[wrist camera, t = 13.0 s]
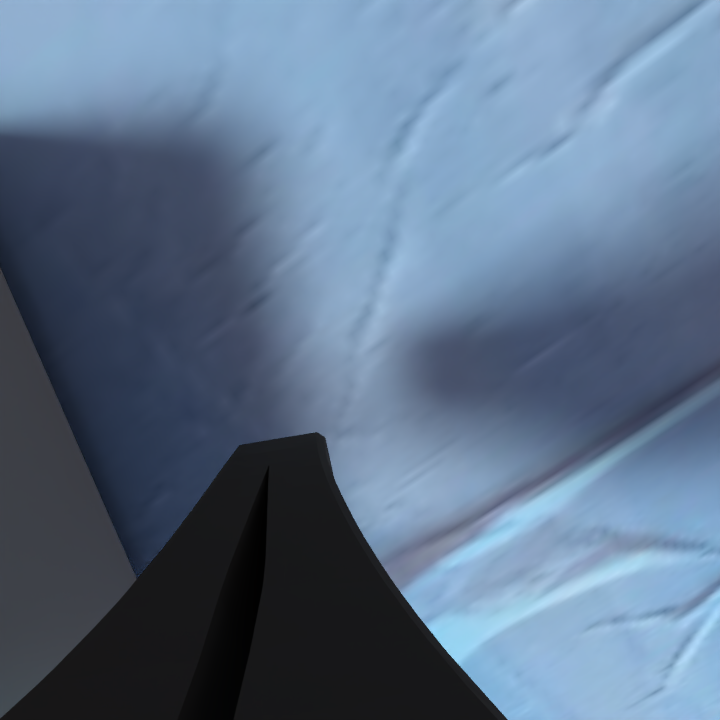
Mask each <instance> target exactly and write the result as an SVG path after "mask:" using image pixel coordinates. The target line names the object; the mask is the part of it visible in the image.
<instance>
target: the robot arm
mask: <svg viewBox="0 0 720 720" xmlns="http://www.w3.org/2000/svg"><path fill="white" fill-rule="evenodd" d="M0 720H507V719H506V717H505V716H504V715H503V714H502V713H501V712H500V711H499V710H498V708H497V707H496V706H495V705H494V704H493V703H492V702H491V701H490V700H489V698H488V697H487V696H486V695H485V694H484V693H483V692H482V691H481V689H480V688H479V687H478V686H477V685H476V684H475V683H474V682H473V681H472V679H471V678H470V677H469V676H468V675H467V674H466V673H465V672H464V670H463V669H462V668H461V667H460V666H459V665H458V664H457V663H456V662H455V660H454V659H453V658H452V657H451V656H450V655H449V654H448V653H447V651H446V650H445V649H444V648H443V647H442V645H441V644H440V643H439V642H438V640H437V639H436V638H435V637H434V635H433V634H432V633H431V632H430V630H429V629H428V628H427V627H426V625H425V624H424V623H423V622H422V620H421V619H420V618H419V617H418V615H417V614H416V613H415V611H414V610H413V609H412V607H411V606H410V604H409V603H408V602H407V600H406V599H405V598H404V596H403V595H402V594H401V592H400V591H399V590H398V588H397V587H396V585H395V584H394V583H393V581H392V580H391V578H390V577H389V575H388V574H387V572H386V571H385V569H384V568H383V566H382V565H381V563H380V562H379V560H378V559H377V557H376V555H375V554H374V552H373V551H372V549H371V547H370V546H369V544H368V543H367V541H366V539H365V538H364V536H363V534H362V533H361V531H360V529H359V527H358V526H357V524H356V522H355V520H354V518H353V516H352V514H351V512H350V510H349V508H348V507H347V505H346V503H345V501H344V499H343V497H342V495H341V493H340V490H339V488H338V486H337V484H336V481H335V479H334V476H333V472H332V467H331V462H330V458H329V453H328V448H327V443H326V439H325V437H324V436H322V435H320V434H319V433H317V432H315V433H309V434H303V435H297V436H291V437H285V438H279V439H273V440H268V441H262V442H256V443H250V444H244V445H239V447H238V448H237V449H236V451H235V452H234V453H233V455H232V456H231V457H230V458H229V460H228V461H227V462H226V464H225V465H224V467H223V468H222V469H221V471H220V472H219V474H218V475H217V476H216V478H215V479H214V481H213V482H212V483H211V485H210V486H209V488H208V489H207V490H206V492H205V493H204V494H203V496H202V497H201V499H200V500H199V501H198V503H197V504H196V505H195V507H194V508H193V509H192V511H191V512H190V513H189V515H188V516H187V517H186V519H185V520H184V521H183V523H182V524H181V525H180V527H179V528H178V529H177V530H176V532H175V533H174V534H173V536H172V537H171V538H170V540H169V541H168V542H167V544H166V545H165V546H164V547H163V549H162V550H161V551H160V552H159V553H158V555H157V556H156V557H155V558H154V559H153V561H152V562H151V563H150V564H149V565H148V567H147V568H146V569H145V570H144V571H143V573H142V574H141V575H140V576H139V577H138V579H137V580H136V581H135V582H134V583H133V585H132V586H131V587H130V588H129V589H128V591H127V592H126V593H125V594H124V595H123V596H122V597H121V599H120V600H119V601H118V602H117V603H116V604H115V605H114V606H113V608H112V609H111V610H110V611H109V612H108V613H107V614H106V615H105V616H104V617H103V618H102V619H101V621H100V622H99V623H98V624H97V625H96V626H95V627H94V628H93V629H92V630H91V631H90V632H89V633H88V634H87V635H86V636H85V637H84V638H83V639H82V640H81V641H80V642H79V643H78V644H77V645H76V646H75V647H74V649H73V650H72V651H71V652H70V653H69V654H68V655H67V656H66V657H65V658H64V659H63V660H62V661H61V662H60V663H59V664H58V665H57V666H56V667H55V668H54V669H53V670H52V671H51V672H50V673H49V674H48V675H47V676H46V677H45V678H44V679H43V680H41V681H40V682H39V683H38V684H37V685H36V686H35V687H34V688H33V689H32V690H31V691H30V692H29V693H27V694H26V695H25V696H24V697H23V698H22V699H21V700H20V701H19V702H18V703H17V704H15V705H14V706H13V707H12V708H11V709H10V710H9V711H8V712H7V713H6V714H4V715H3V716H2V717H1V718H0Z"/></svg>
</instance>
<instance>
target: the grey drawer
mask: <svg viewBox="0 0 720 720" xmlns="http://www.w3.org/2000/svg"><path fill="white" fill-rule="evenodd" d="M136 580H137V578H136V576H135V574H134V571H133V569H132V567H131V565H130V562H129V560H128V558H127V555H126V553H125V551H124V549H123V546H122V544H121V542H120V540H119V537H118V535H117V533H116V530H115V528H114V526H113V524H112V521H111V519H110V517H109V514H108V512H107V510H106V508H105V505H104V503H103V501H102V498H101V496H100V494H99V492H98V489H97V487H96V485H95V483H94V480H93V478H92V476H91V473H90V471H89V469H88V467H87V464H86V462H85V460H84V457H83V455H82V453H81V451H80V448H79V446H78V444H77V441H76V439H75V437H74V435H73V432H72V430H71V428H70V426H69V423H68V421H67V419H66V416H65V414H64V412H63V410H62V407H61V405H60V403H59V400H58V398H57V396H56V394H55V391H54V389H53V387H52V384H51V382H50V380H49V378H48V375H47V373H46V371H45V369H44V366H43V364H42V362H41V359H40V357H39V355H38V353H37V350H36V348H35V346H34V343H33V341H32V339H31V337H30V334H29V332H28V330H27V327H26V325H25V323H24V321H23V318H22V316H21V314H20V312H19V309H18V307H17V305H16V302H15V300H14V298H13V296H12V293H11V291H10V289H9V286H8V284H7V282H6V280H5V277H4V275H3V273H2V270H1V268H0V718H1V717H2V716H3V715H4V714H6V713H7V712H8V711H9V710H10V709H11V708H12V707H13V706H14V705H15V704H17V703H18V702H19V701H20V700H21V699H22V698H23V697H24V696H25V695H26V694H27V693H29V692H30V691H31V690H32V689H33V688H34V687H35V686H36V685H37V684H38V683H39V682H40V681H41V680H43V679H44V678H45V677H46V676H47V675H48V674H49V673H50V672H51V671H52V670H53V669H54V668H55V667H56V666H57V665H58V664H59V663H60V662H61V661H62V660H63V659H64V658H65V657H66V656H67V655H68V654H69V653H70V652H71V651H72V650H73V649H74V647H75V646H76V645H77V644H78V643H79V642H80V641H81V640H82V639H83V638H84V637H85V636H86V635H87V634H88V633H89V632H90V631H91V630H92V629H93V628H94V627H95V626H96V625H97V624H98V623H99V622H100V621H101V619H102V618H103V617H104V616H105V615H106V614H107V613H108V612H109V611H110V610H111V609H112V608H113V606H114V605H115V604H116V603H117V602H118V601H119V600H120V599H121V597H122V596H123V595H124V594H125V593H126V592H127V591H128V589H129V588H130V587H131V586H132V585H133V583H134V582H135V581H136Z"/></svg>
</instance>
